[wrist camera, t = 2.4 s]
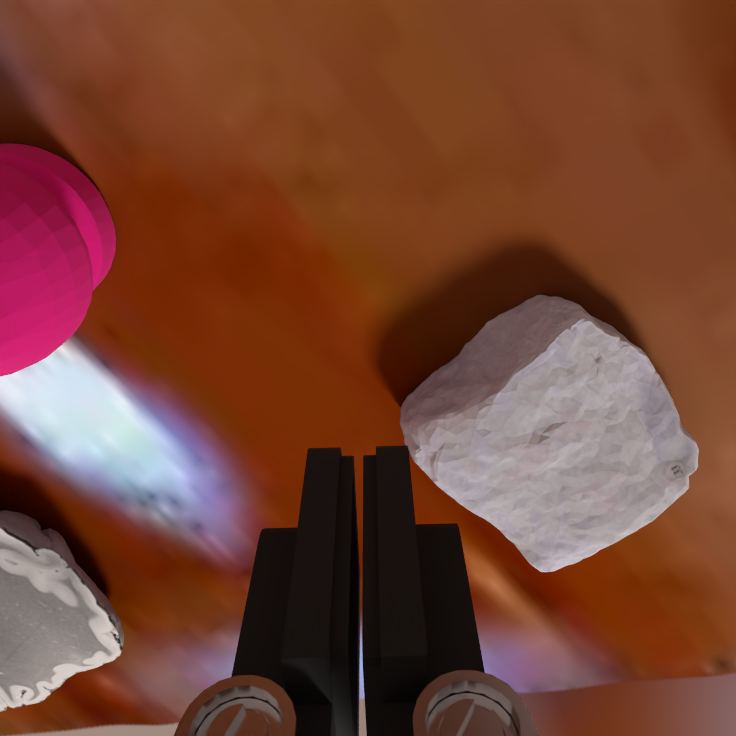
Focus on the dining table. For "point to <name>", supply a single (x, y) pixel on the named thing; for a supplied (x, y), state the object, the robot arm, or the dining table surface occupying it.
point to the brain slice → (47, 614)
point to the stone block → (551, 432)
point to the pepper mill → (47, 252)
